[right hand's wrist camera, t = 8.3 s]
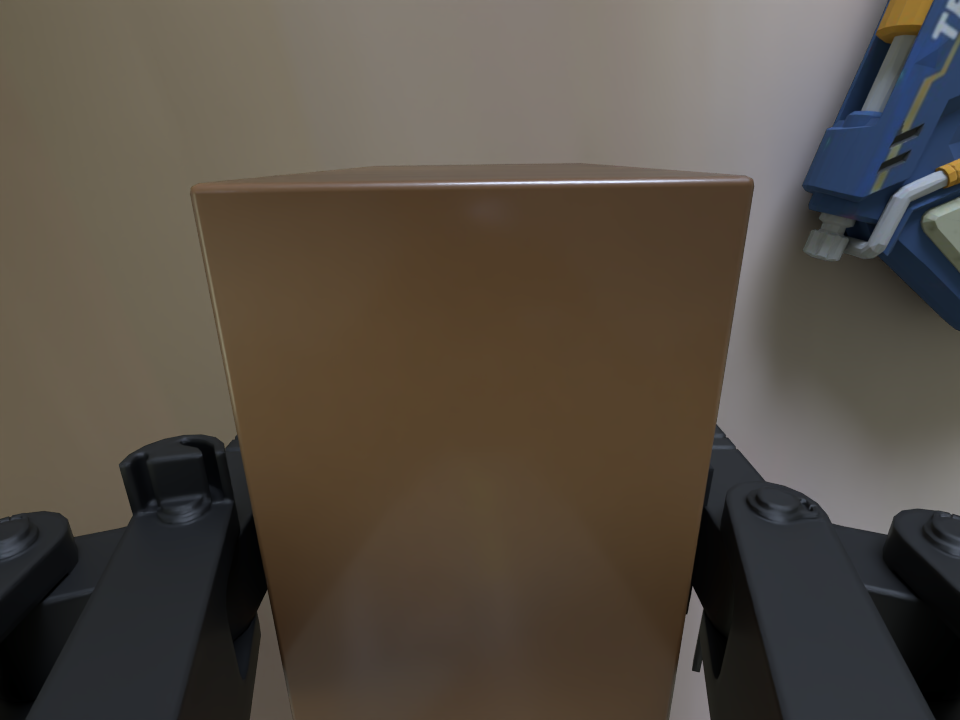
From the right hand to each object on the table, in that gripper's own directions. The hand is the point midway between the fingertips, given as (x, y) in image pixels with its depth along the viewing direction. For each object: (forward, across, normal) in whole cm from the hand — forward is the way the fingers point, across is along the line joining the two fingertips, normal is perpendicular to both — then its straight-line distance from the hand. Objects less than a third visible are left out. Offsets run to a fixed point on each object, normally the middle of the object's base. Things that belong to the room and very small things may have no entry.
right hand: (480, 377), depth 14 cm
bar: (0, 0, -27) cm, 27 cm away
